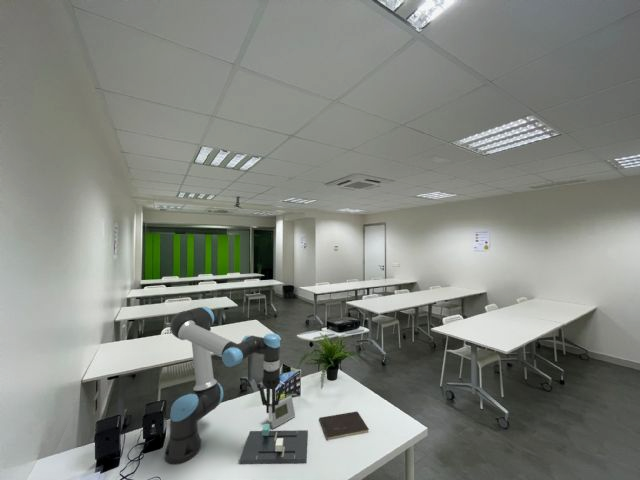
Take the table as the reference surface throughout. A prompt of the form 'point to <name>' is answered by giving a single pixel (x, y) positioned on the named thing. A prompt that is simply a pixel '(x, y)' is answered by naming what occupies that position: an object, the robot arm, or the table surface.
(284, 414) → the digital clock
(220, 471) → the table surface
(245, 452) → the plate
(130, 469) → the table surface
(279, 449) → the fader near
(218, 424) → the table surface
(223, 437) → the table surface
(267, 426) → the fader far
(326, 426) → the hardcover book
